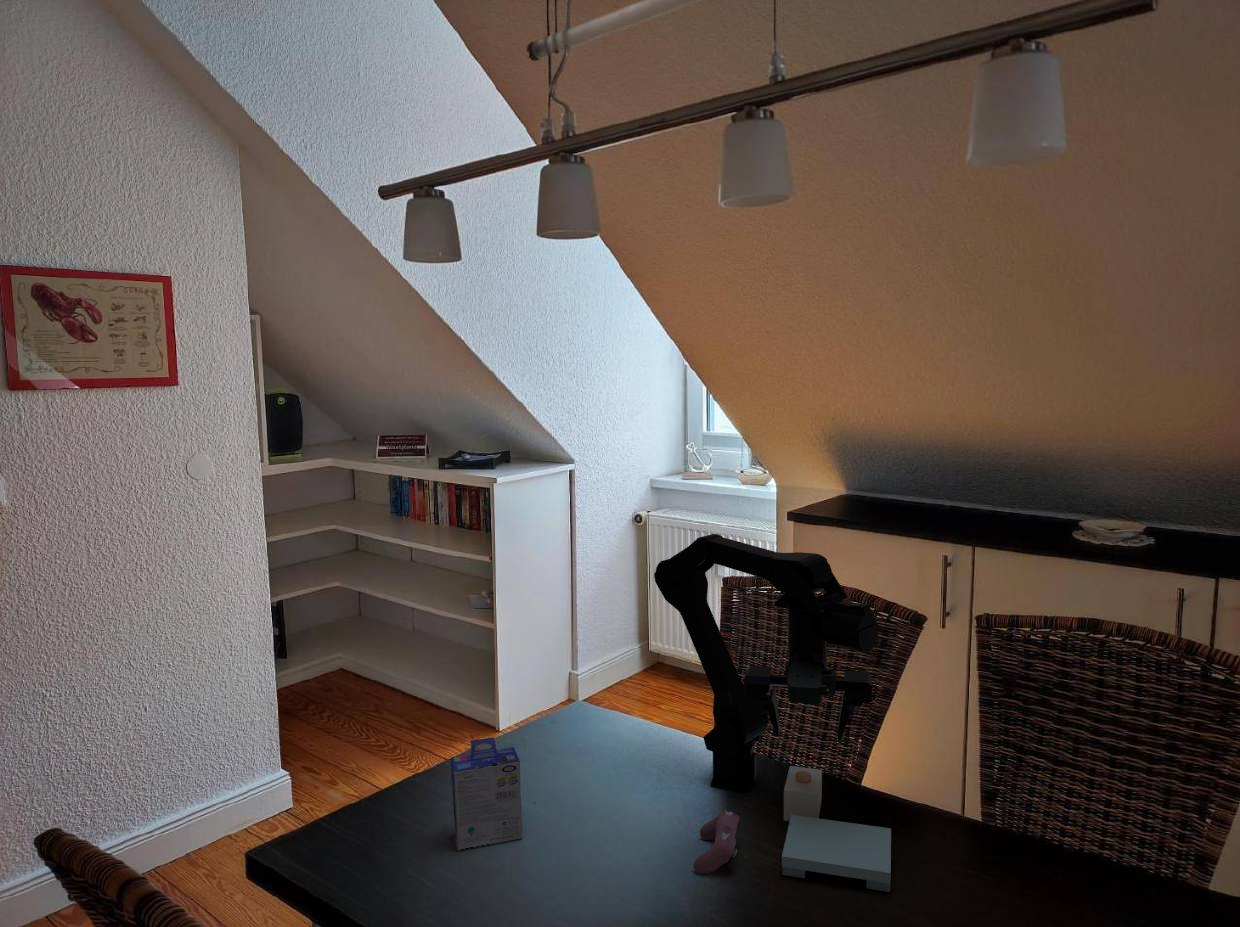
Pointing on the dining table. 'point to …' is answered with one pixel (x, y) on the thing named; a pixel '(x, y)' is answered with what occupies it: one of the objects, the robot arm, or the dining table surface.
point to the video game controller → (718, 842)
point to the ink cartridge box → (486, 796)
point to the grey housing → (802, 792)
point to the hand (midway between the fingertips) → (808, 737)
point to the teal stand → (838, 850)
